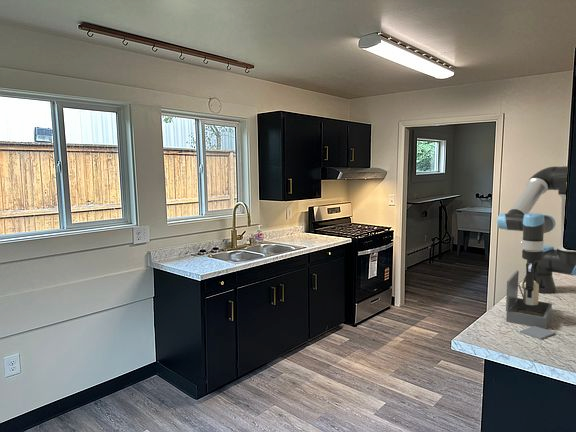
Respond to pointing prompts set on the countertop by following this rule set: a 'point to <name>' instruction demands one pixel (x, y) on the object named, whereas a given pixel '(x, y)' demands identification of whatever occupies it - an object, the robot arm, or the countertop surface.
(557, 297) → the countertop surface
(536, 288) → the candle
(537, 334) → the mat
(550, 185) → the robot arm
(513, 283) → the case
